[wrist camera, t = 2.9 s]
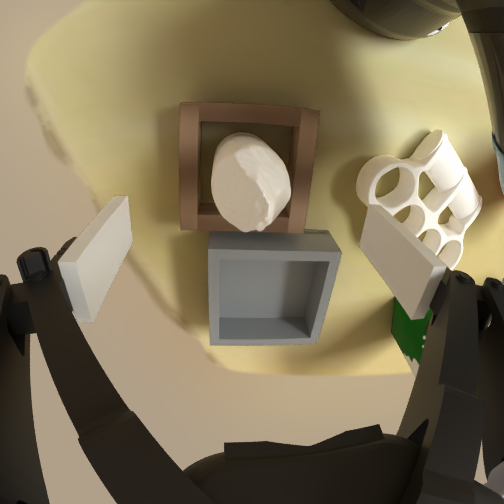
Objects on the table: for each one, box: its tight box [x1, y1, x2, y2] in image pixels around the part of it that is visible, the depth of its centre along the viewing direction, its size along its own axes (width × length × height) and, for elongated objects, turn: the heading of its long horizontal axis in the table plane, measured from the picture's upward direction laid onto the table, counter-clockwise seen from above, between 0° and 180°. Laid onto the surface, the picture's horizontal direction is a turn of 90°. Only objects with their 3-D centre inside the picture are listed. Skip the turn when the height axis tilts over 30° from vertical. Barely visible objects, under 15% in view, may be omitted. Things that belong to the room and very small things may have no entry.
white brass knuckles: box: [356, 130, 483, 271], centre depth 29 cm, size 3×18×15 cm
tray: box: [208, 229, 342, 346], centre depth 31 cm, size 12×12×4 cm
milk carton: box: [391, 297, 478, 397], centre depth 29 cm, size 9×9×20 cm
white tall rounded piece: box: [211, 132, 291, 232], centre depth 21 cm, size 6×12×6 cm
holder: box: [179, 102, 320, 234], centre depth 25 cm, size 11×11×3 cm
